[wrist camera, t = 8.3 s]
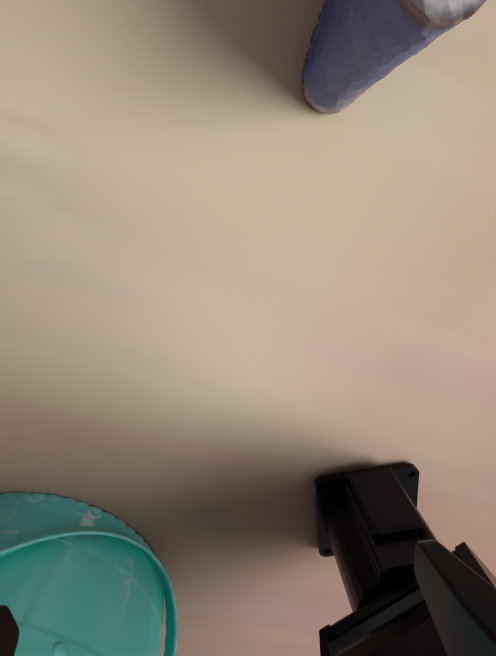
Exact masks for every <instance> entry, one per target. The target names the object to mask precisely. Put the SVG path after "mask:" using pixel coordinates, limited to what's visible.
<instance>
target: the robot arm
mask: <svg viewBox="0 0 496 656" xmlns="http://www.w3.org/2000/svg"><path fill="white" fill-rule="evenodd" d="M410 471H411V472H410ZM418 481H419V471H418V469H417V468H416V467H415V465H414V464H411V463H408V464H401V465H394V466H387V467H380V468H373V469H366V470H359V471H353V472H346V473H339V474H332V475H325V476H320V477H318V478H317V479H316V480H315V483H314V485H315V504H316V523H317V541H318V549H319V553H320V555H321V556H324V557H328V556H335V559H336V562H337V565H338V568H339V571H340V574H341V577H342V581H343V584H344V587H345V590H346V593H347V596H348V599H349V602H350V605H351V608H352V611H353V612H352V613H351V614H349V615H347V616H346V617H344V618H342V619H341V620H339V621H338V622H336V623H334V624H333V625H331V626H330V625H327V626H325V627H324V628H322V629H320V630H319V636H320V655H321V656H496V578H495V576H494V575H493V574H492V573H491V572H490V571H489V570H488V568H487V567H486V566H485V565H484V564H483V563H482V561H481V560H480V559H479V558H478V557H477V556H476V555H475V553H474V552H473V551H472V550H471V549H470V548H469V546H468V545H467V544H466V543H465V542H463V543H461V544H459V545H458V546H456V547H455V549H456V550H454V551H452V552H450V551H449V550H448V549H447V548H445V547H444V546H443V545H442V544H440V543H439V542H438V541H437V539H436V538H435V536H434V535H433V533H432V532H431V530H430V528H429V527H428V525H427V524H426V522H425V521H424V519H423V517H422V516H421V514H420V513H419V511H418V510H417V495H418ZM322 484H325V485H322ZM18 640H19V627H18V625H17V623H16V621H15V619H14V617H13V615H12V613H11V611H10V609H9V607H8V606H7V605H0V656H14V655H15V651H16V648H17V644H18Z"/></svg>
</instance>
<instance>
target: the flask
mask: <svg viewBox="0 0 496 656" xmlns="http://www.w3.org/2000/svg"><path fill="white" fill-rule="evenodd" d="M485 1H486V0H326V1H325V3H324V5H323V7H322V12H321V13H320V15H319V22H318V24H317V26H316V27H315V30H314V31H313V35H312V38H311V42H310V47H309V50H308V52H307V55H306V59H305V64H304V71H303V74H302V77H303V78H302V84H303V94H304V96H305V98H306V100H307V102H308V103H309V104H310V105H311V107H313V108H314V109H316V110H317V111H318V112H321V113H326V114H332V113H337V112H339V111H341V110H342V109H344V108H346V107H347V106H348V105H349V104H350V103H352V102H353V101H354V100H355V99H357V98H358V97H359V96H360V95H361V94H363V93H364V92H365V91H366V90H367V89H368V88H370V87H371V86H372V85H373V84H374V83H376V82H377V81H379V80H381V79H382V78H384V77H385V76H386V75H387V74H389V73H390V72H391V71H392V70H393V69H394V68H396V67H397V66H398V65H400V64H401V63H403V62H404V61H405V60H407V59H408V58H409V57H411V56H413V55H415V54H417V53H418V52H419V51H421V50H422V49H424V48H426V47H427V46H428V45H429V44H430V43H431V42H432V41H434V40H435V39H436V38H437V37H439V36H440V35H441V34H443V33H444V32H446V31H448V30H450V29H451V28H453V27H454V26H456V25H457V24H459V23H460V22H462V21H463V20H466V19H468V18H470V17H471V16H472V15H473V14H474V13H475V12H476V11H477V10H478V9H479V8H480V7H481V6H482V5H483V4H484V2H485Z"/></svg>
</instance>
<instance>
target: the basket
mask: <svg viewBox="0 0 496 656" xmlns="http://www.w3.org/2000/svg"><path fill="white" fill-rule="evenodd" d="M164 598H165V606H166V617H167V618H166V641H165V652H164V656H176V648H177V633H178V620H177V608H176V600H175V595H174V591H173V588H172V585H171V582H170V579H169V577H168V575H167V573H166V571H165V569H164V567H163V565H162V564H161V563H160V561H159V560H158V559H157V558H156V556H155V554H154V553H153V552H152V551H151V550H150V547H149V545H148V544H147V543H145V542H144V540H143V538H142V537H141V536H140V535H138V534H136V533H135V531H134V530H133V529H132V528H131V527H128V526H126V525H125V523H124V522H123V521H121V520H119V519H116V518H115V517H114V516H113V515H111V514H110V513H107V512H103V511H102V510H101V509H99V508H97V507H92V506H89V505H88V504H87V503H85V502H78V501H75V500H74V499H72V498H62V497H60V496H58V495H46V494H43V493H33V494H32V493H29V492H20V493H12V492H9V493H4V494H0V605H7V606H8V607H9V609H10V611H11V613H12V615H13V617H14V619H15V621H16V623H17V625H18V627H19V640H18V644H17V648H16V651H15V655H14V656H159V654H160V644H161V633H162V621H163V607H164Z"/></svg>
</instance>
